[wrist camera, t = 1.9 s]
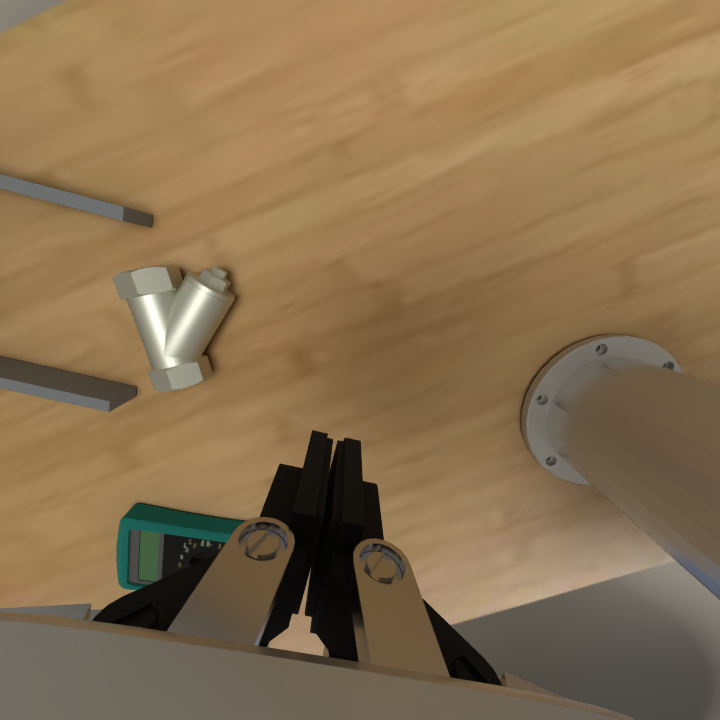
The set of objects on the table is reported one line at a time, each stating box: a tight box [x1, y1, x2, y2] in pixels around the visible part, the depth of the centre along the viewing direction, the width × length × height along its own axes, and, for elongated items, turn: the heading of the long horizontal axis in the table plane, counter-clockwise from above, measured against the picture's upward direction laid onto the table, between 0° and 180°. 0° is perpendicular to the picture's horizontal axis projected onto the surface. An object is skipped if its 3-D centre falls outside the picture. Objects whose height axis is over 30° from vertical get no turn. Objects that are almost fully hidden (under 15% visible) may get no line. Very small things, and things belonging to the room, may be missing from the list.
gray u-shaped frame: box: [0, 174, 153, 412], centre depth 22 cm, size 13×14×3 cm
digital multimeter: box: [116, 504, 245, 590], centre depth 29 cm, size 7×15×3 cm, turn 78°
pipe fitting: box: [113, 266, 235, 392], centre depth 23 cm, size 8×4×7 cm
